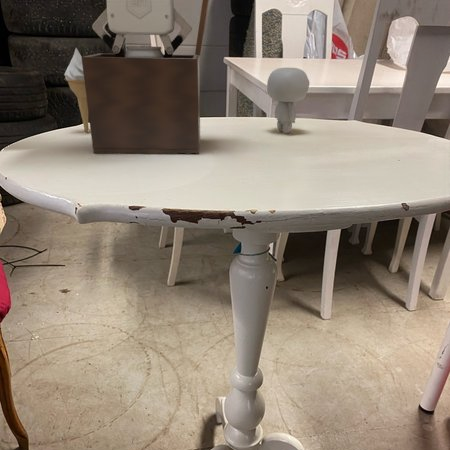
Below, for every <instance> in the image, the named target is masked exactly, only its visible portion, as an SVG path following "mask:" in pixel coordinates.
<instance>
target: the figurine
mask: <svg viewBox="0 0 450 450" xmlns="http://www.w3.org/2000/svg"><path fill="white" fill-rule="evenodd" d="M309 88H310V79H309V77H308V75H307V73H306V72H305V71H304V70H303V69H301V68H298V67H278V68H276V69H274V70H272V71H271V73H270V74H269V75H268V79H267V83H266V89H267V94H268V96H269V97H270V98H271V100H273V101H276V102H277V104H276V106H275V109H274V118H275V119H276V121H277V123H276V127H277V130H278V131H279V132H281V133H282V132H283V133H285V134H290V133H291V131H292V128H293V124H296V119H297V113H296V106H295V104H294V103H295V102H300V101H302V100H303V99H305V97H306V96H307V94H308V91H309Z"/></svg>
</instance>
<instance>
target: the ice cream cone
mask: <svg viewBox="0 0 450 450" xmlns="http://www.w3.org/2000/svg"><path fill="white" fill-rule="evenodd" d="M82 57H83V56H82V55H81V53H80V52H79V49H78V48H77V47H75V49H74V52H73V56H72V58H71V60H70V62H69V64H68V66H67V68H66V70H65V72H64V74H63V75H64V76H65V77H64V78H65V81H67V83H68V86H69V89H70V91H72V92H73V93H74V95H75V96H76V98H77V103H78V107H79V112H80V116H81V120H82V121H81V122H82V124H83V129H84V132H85V133H89V129H90V126H89V113H88V105H87V97H86V89H85V81H84V73H83V65H82Z"/></svg>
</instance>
